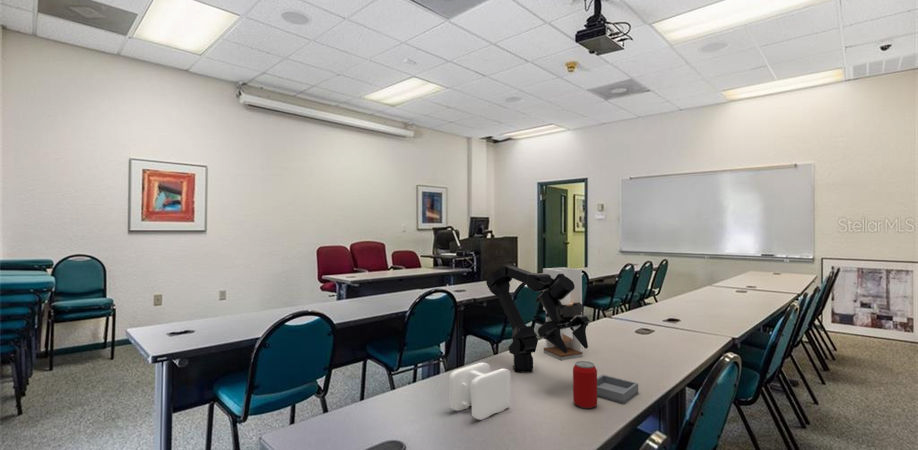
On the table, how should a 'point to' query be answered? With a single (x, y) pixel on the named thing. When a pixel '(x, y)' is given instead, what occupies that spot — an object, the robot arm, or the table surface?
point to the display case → (566, 334)
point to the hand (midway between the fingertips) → (576, 350)
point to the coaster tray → (616, 389)
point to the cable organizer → (479, 390)
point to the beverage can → (585, 384)
